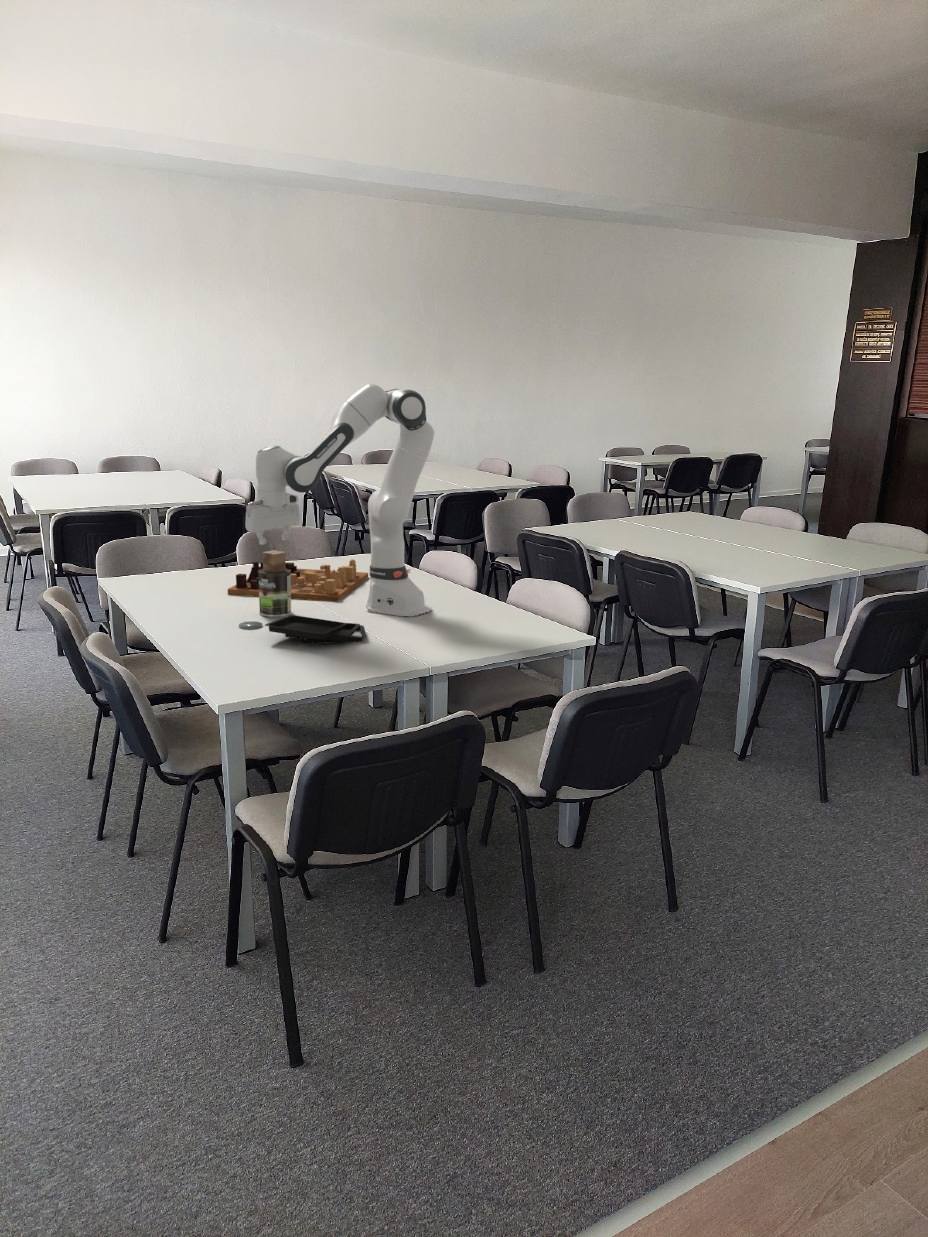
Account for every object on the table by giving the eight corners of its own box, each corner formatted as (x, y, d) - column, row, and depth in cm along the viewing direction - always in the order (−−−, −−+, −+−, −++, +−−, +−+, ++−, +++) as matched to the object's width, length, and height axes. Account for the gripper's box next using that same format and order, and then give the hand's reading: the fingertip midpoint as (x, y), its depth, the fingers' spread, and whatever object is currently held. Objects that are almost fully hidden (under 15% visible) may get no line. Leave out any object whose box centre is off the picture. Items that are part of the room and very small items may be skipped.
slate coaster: (267, 627, 274) (267, 624, 274) (249, 631, 269) (249, 628, 269) (251, 623, 278) (251, 620, 278) (234, 627, 273) (233, 624, 272)
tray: (358, 626, 277) (358, 610, 276) (378, 647, 256) (378, 629, 255) (260, 633, 267) (260, 616, 265) (273, 655, 246) (272, 637, 244)
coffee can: (278, 618, 283) (276, 575, 279) (252, 614, 287) (251, 571, 284) (298, 612, 292) (297, 569, 288) (273, 607, 296) (272, 566, 293)
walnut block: (285, 570, 287) (285, 552, 285) (274, 572, 283) (273, 554, 281) (274, 568, 289) (274, 550, 288) (263, 570, 285) (262, 552, 284)
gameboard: (338, 603, 307) (337, 577, 305) (227, 596, 313) (226, 570, 311) (368, 579, 345) (368, 555, 343) (269, 573, 351) (268, 550, 349)
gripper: (253, 503, 270) (256, 548, 274) (302, 496, 286) (304, 538, 290) (239, 501, 274) (242, 546, 277) (288, 494, 290) (290, 536, 293)
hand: (274, 542), depth 284 cm, fingers open, 8 cm apart
